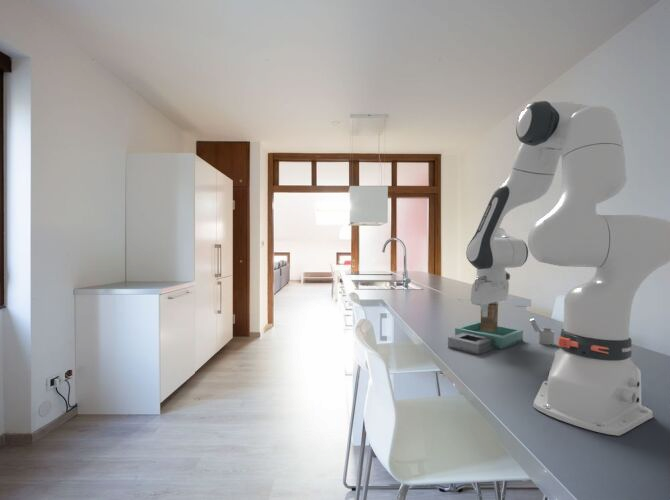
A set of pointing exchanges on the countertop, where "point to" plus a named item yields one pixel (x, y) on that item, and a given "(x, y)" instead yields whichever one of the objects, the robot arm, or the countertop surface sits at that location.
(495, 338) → the tray
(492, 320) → the brown wooden tall block
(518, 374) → the countertop surface
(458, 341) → the grey square box
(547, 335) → the lighter
